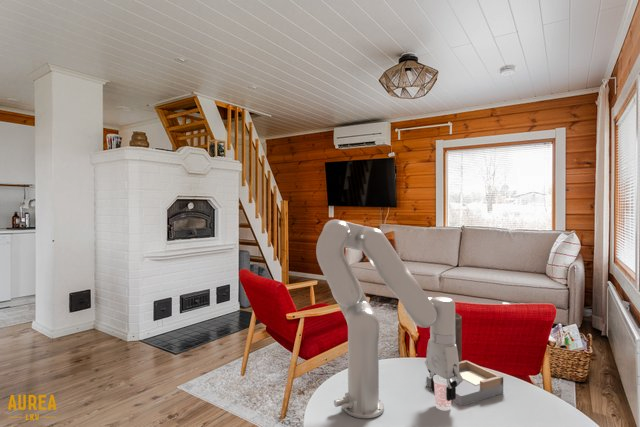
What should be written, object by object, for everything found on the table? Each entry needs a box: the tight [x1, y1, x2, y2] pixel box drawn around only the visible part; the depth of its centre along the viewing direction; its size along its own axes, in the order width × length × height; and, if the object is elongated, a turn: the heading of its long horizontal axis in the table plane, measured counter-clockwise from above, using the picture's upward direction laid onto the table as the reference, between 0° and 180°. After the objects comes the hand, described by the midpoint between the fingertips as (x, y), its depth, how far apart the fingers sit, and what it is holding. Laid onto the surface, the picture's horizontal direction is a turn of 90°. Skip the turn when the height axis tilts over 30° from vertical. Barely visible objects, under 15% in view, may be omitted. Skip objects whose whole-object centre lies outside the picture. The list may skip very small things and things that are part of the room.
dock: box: [426, 359, 504, 406], centre depth 130 cm, size 19×16×6 cm
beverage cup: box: [433, 374, 453, 411], centre depth 119 cm, size 6×6×14 cm
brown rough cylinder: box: [455, 312, 463, 362], centre depth 152 cm, size 8×7×20 cm
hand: (443, 394), depth 119 cm, fingers closed on beverage cup, 6 cm apart
